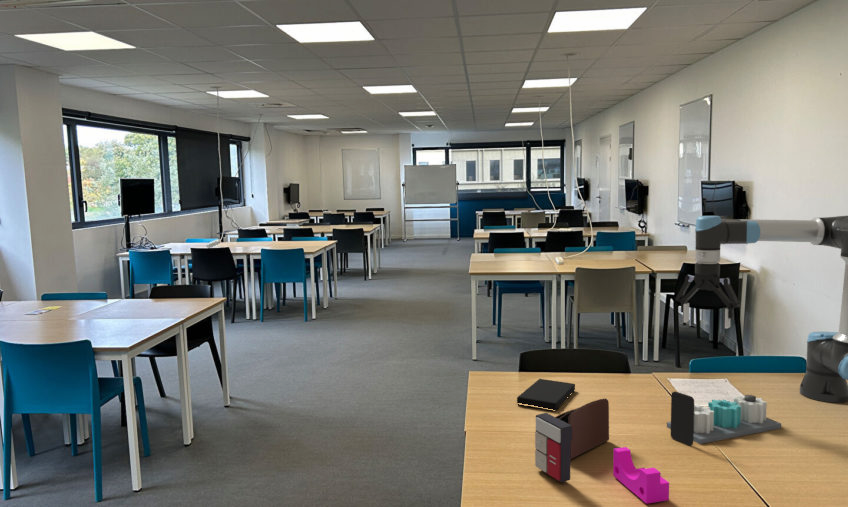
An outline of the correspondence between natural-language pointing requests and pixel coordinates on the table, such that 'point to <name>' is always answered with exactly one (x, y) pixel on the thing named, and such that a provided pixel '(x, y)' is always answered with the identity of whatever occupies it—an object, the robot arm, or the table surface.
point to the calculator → (553, 446)
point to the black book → (546, 394)
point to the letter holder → (587, 426)
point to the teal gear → (725, 413)
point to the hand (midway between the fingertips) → (706, 324)
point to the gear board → (750, 424)
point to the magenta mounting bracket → (639, 478)
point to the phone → (682, 418)
